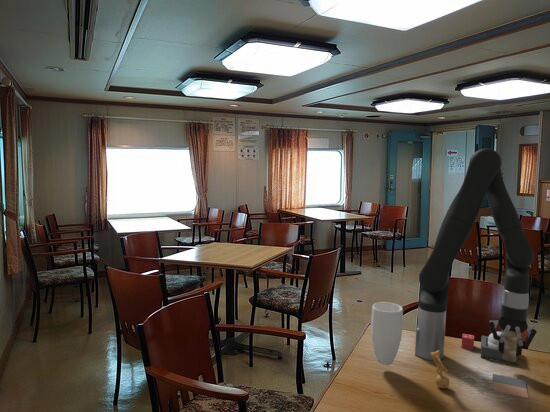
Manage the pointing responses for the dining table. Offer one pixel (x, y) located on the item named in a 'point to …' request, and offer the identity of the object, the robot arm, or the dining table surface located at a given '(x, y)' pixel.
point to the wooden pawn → (510, 347)
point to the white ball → (493, 341)
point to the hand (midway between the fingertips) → (509, 353)
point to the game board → (510, 386)
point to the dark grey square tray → (492, 352)
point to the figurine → (441, 379)
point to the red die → (467, 341)
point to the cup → (386, 331)
